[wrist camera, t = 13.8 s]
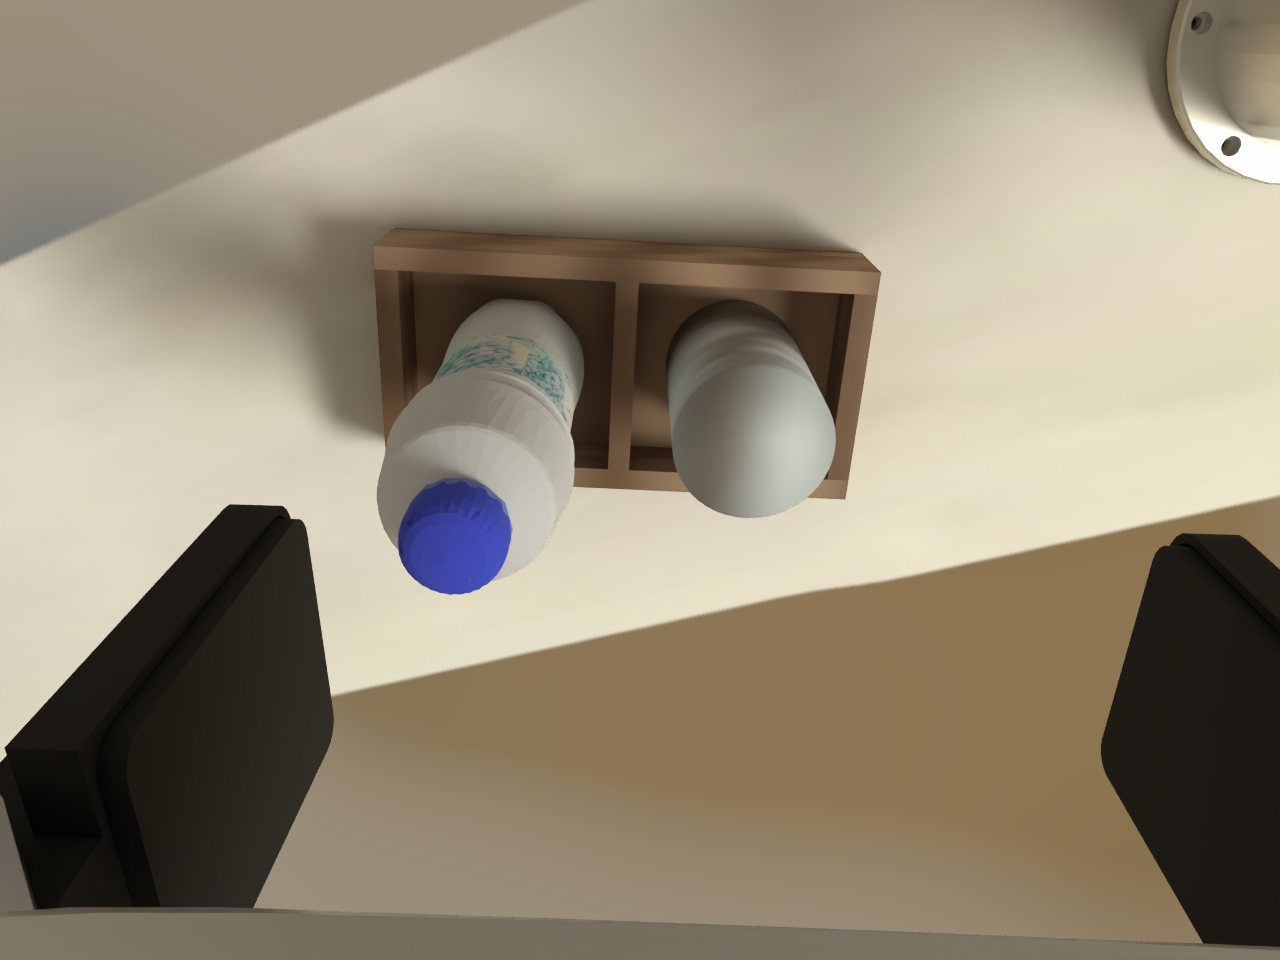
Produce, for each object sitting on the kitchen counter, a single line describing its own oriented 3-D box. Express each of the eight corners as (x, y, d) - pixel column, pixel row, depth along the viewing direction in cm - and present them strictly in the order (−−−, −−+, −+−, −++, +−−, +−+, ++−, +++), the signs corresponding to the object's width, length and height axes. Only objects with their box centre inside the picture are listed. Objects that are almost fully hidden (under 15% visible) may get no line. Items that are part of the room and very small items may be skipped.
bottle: (555, 438, 49) (507, 682, 31) (431, 381, 47) (302, 601, 29) (614, 322, 46) (599, 513, 28) (484, 258, 45) (380, 416, 27)
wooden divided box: (861, 253, 46) (924, 315, 36) (830, 465, 50) (877, 573, 40) (394, 228, 45) (325, 285, 35) (405, 445, 50) (347, 549, 40)
